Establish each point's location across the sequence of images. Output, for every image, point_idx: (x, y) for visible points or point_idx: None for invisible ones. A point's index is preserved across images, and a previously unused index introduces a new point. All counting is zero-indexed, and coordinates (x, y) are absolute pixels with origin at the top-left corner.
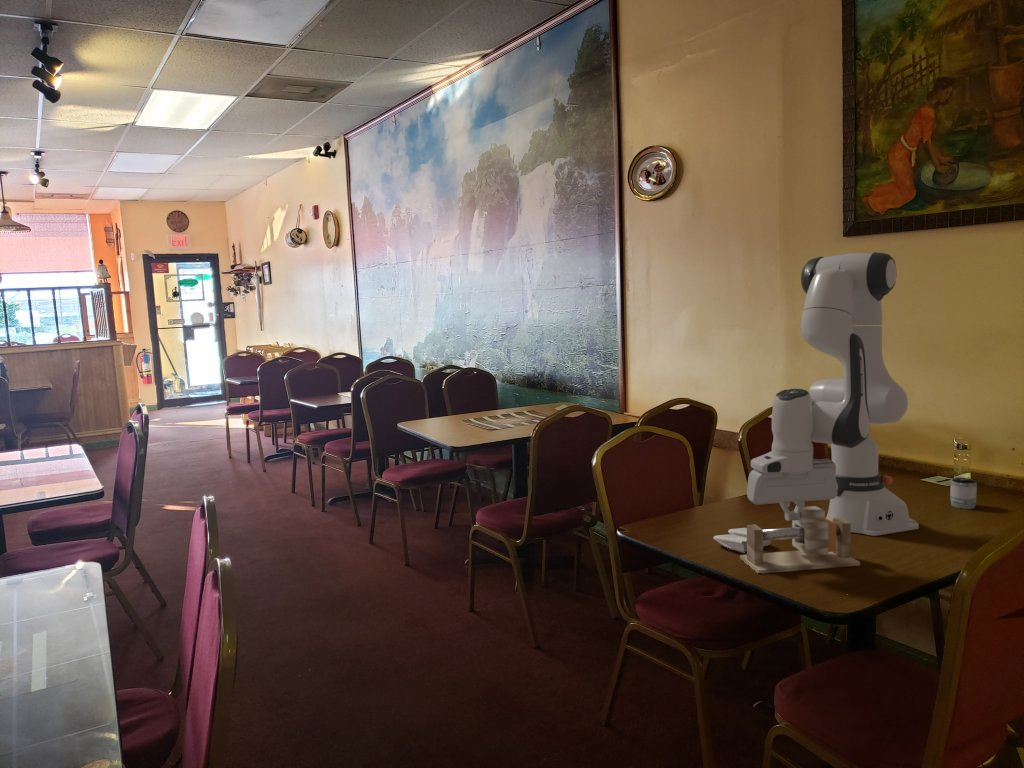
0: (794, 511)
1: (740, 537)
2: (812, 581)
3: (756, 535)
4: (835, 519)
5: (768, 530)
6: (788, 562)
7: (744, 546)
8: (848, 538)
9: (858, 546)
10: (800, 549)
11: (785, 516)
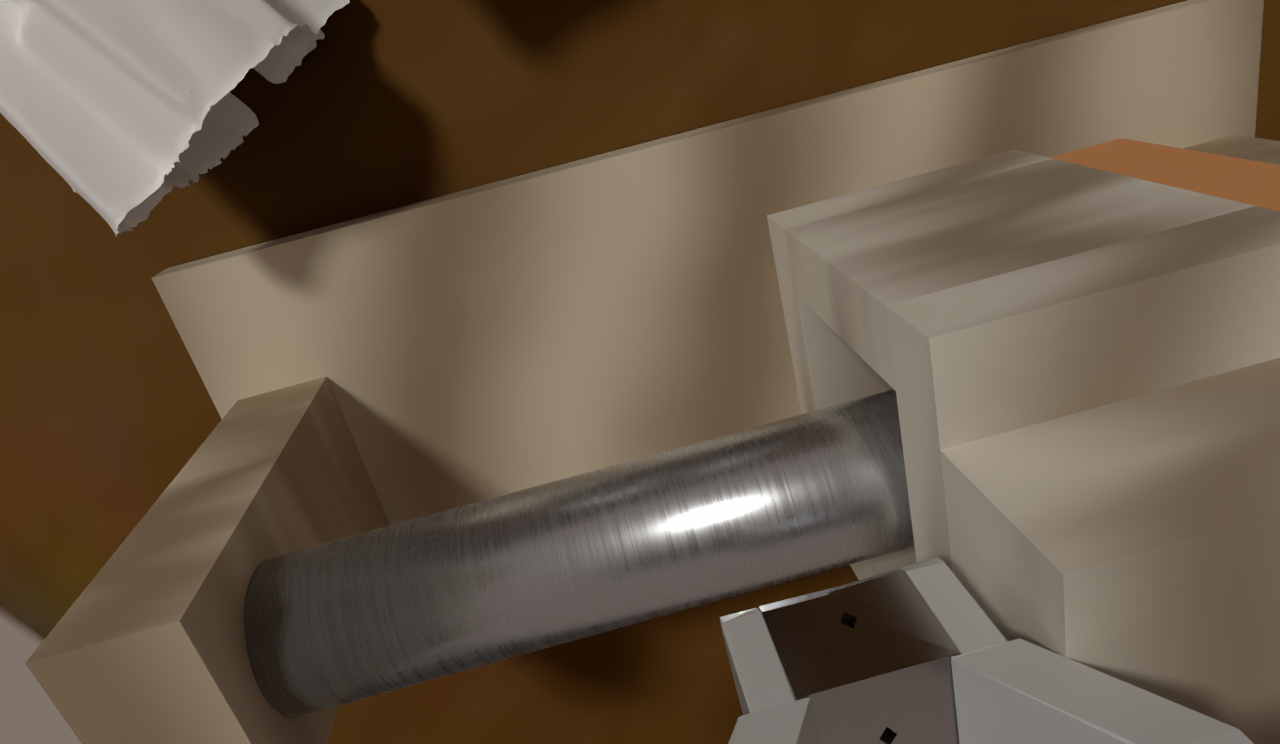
0: (953, 695)
1: (78, 32)
2: (726, 711)
3: None
4: None
5: (411, 671)
6: (636, 455)
7: None
8: None
9: None
10: (802, 399)
11: (734, 670)
